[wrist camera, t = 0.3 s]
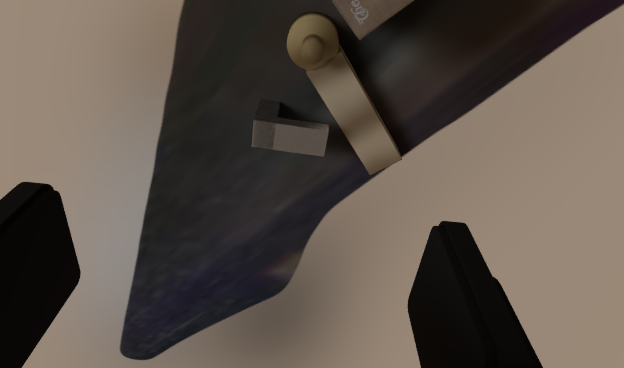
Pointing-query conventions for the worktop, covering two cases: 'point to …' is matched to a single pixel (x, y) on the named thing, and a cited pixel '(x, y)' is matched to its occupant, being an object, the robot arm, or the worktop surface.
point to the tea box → (368, 13)
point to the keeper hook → (287, 132)
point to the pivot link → (341, 89)
